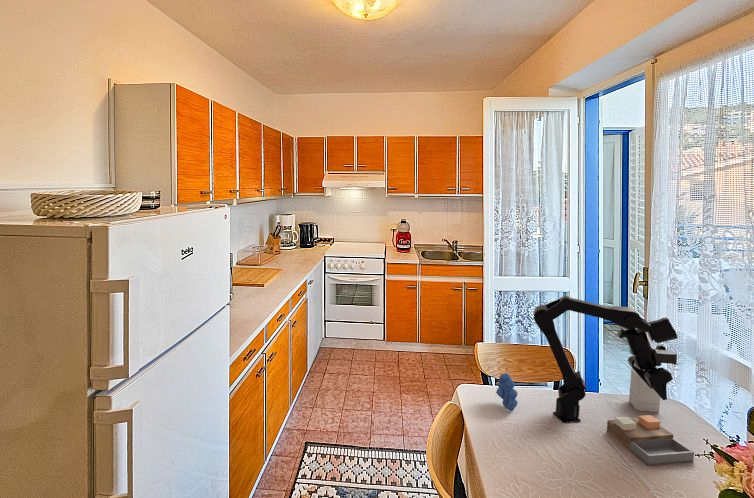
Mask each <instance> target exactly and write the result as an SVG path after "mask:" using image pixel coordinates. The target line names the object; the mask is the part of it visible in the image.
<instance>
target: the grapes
mask: <svg viewBox="0 0 754 498" xmlns="http://www.w3.org/2000/svg"><path fill="white" fill-rule="evenodd" d="M515 385H516V383H515V381H514V380H512V377H511V375H510V374H509V373H506V372H505V373H502V374H500V376H499V378H498V383H497V389H496V392H495V394H496V395H497V396H498V397H499V398H500V399H502V403H501V404H502V405H503V407H504V408H506V409H507V410H508V411H509V412H513V411H514V410H515V408H517V406H518V403H519V402H518V400H517V399H516V398H517V397H518V394H519V393H518V391H517V390H516V389H514V387H515Z"/></svg>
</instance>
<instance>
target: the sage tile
mask: <svg viewBox="0 0 754 498" xmlns="http://www.w3.org/2000/svg"><path fill="white" fill-rule="evenodd" d="M631 419H632V418H630V417H628V416H616V417H615V418H614V420H615V424H616V425H617V426H619V427H620V428H621V429H623V430H636V423H635V422H634V421H633V420H631Z"/></svg>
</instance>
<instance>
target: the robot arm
mask: <svg viewBox="0 0 754 498" xmlns="http://www.w3.org/2000/svg"><path fill="white" fill-rule="evenodd" d="M567 311H571V312H574V313H580V314H583V315H588V316H591V317H594V318H595V317H596V318H599V319H604V320H607V321H609V322H611V323H613V324H615V325H617V326H619V327H622V328H620V329H619V331H618V332H617V334H616V335H617V336H618V338H619V339H624V338H625V339H626V342H627V345H628V347H629V351H628V352H629V353H630V356H629V357H628V359H627V362H628V365H629V366H630V367H631V369H633V370H634V371H635V372H636V373H637V374H638V375H639V376H640V377H641V378H642V380H643V381H644V382H645V383H646V384H647V385H648V386H649V387H650V388H651V389H652V388H653V389H654V390H655V392H656V393H657V394H658V395H659V396H660V399H661V400H662V401H666V400H668V393H667V385H668V383H670V382H672V381H673V380H674V378H673V374H672V373H671V372H670V371H669V370H668V369H666V368H664V367H660V366H662V365H663V364H672V365H677V364H678V353H677V352H675V351H673V350H671V349H669V348H667V349H666V347H665V346H664V345H663V344H662V345H661V343H666V342H670V341H673V340H677V339H678V335H677V332H676V330H675V329H674V326H673V325H672V323H671V321H670V320H669V318H668V317H662V318H660V319H656V320H653V321H649V322H648V321H647V320H646V319H645V318H642V316H640V314H639V313H638V312H637V311H636V310H635V309H633V307H629V306H620V305H619V306H617V305H616V306H611V305H610V306H607V305H603V304H599V303H595V302H590V301H586V300H582V299H577V298H573V297H570V296H568V295H563V296H561V297H560V298H558V299H556V300H554V301H551V302H547V303H546V304H544V305H543V304H541V305H540V304H539V305H537V306H536V307H535V308H534V311H533V321H534V322H535V324H536V325H537V327H538V329H539V330H540V331H541V333H542V334H543V335H544V336H545V338H546V340H547V343H548V345H549V348H550V350H551V352H552V354H553V357H554V359H555V361H556V363H557V366H558V368H559V371H560V372H561V376H562V380H563V384H561V385H560V386H558V387H557V391H558V397H556V399H555V401H556V403H555V404H556V405H555V411H552V414H553V416H555V417H556V418H557V419H558V420H560V421H561V422H562V423H579V422H581V421H582V420H581V419H580V418H579V417H580V407H581V406H580V401H582V400H583V399H584V398H585V397H586V390H587V386H586V382H585V380H584V379H583V378H582V375H581V371H580V370H578V371H575V369H574V368H573V367H572V364H571V363H570V360H569V357H568V355H567V354H566V353H567V352H566V351H565V349H564V346H563V344H562V341H561V339H560V336H559V334H558V332H557V330H556V325H555V322H554V320H556V319H558V318H559V317H560V316H561V315H563V314H564V313H566V312H567ZM648 337H649V338H648ZM649 339H650V341H651V342H654V343H656V344H657V345H656V347H655V348H653V347H652V345H651V343H650V341H649Z"/></svg>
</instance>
